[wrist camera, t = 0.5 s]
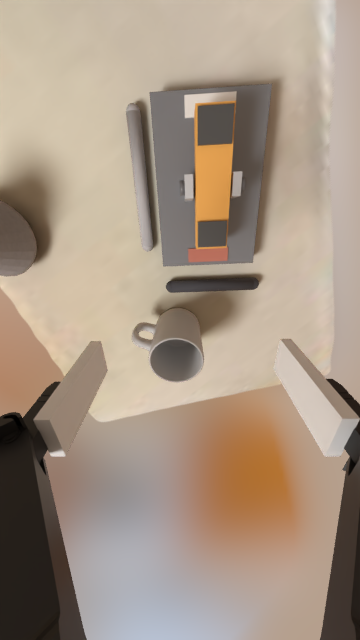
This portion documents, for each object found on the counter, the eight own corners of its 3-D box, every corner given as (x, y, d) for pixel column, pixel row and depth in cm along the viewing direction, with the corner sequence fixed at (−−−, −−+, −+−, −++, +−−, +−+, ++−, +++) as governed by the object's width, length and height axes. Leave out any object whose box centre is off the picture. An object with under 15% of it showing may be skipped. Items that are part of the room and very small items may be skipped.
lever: (194, 112, 23) (195, 101, 20) (231, 109, 23) (237, 98, 20) (195, 245, 30) (196, 249, 27) (223, 244, 30) (227, 248, 27)
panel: (153, 104, 27) (142, 67, 20) (262, 97, 26) (290, 56, 20) (164, 262, 36) (160, 273, 29) (247, 259, 35) (262, 269, 28)
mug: (205, 314, 40) (213, 346, 30) (191, 350, 44) (193, 388, 34) (145, 296, 38) (131, 323, 29) (135, 334, 42) (120, 369, 32)
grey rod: (127, 107, 27) (123, 100, 25) (140, 106, 27) (138, 99, 25) (143, 250, 35) (141, 252, 33) (154, 250, 35) (152, 251, 33)
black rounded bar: (166, 279, 37) (165, 283, 35) (257, 276, 36) (261, 279, 35) (166, 290, 38) (166, 294, 36) (256, 287, 37) (259, 290, 36)
